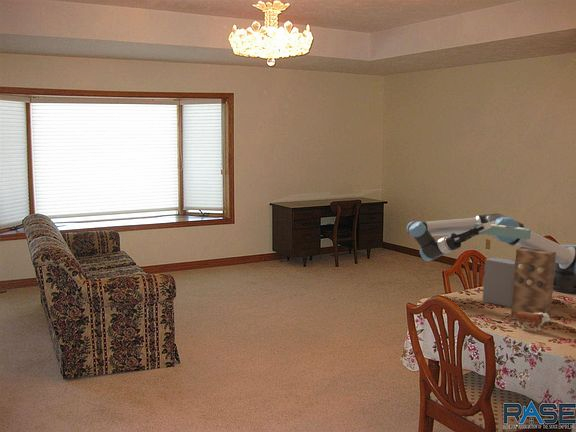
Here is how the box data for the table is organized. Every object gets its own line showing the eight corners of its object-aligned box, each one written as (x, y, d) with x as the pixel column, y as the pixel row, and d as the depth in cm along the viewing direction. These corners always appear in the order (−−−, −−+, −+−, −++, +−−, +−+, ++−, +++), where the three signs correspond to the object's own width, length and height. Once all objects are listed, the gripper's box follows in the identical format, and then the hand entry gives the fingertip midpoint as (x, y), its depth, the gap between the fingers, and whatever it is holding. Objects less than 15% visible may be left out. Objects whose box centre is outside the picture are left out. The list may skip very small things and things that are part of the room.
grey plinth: (516, 303, 288) (519, 261, 285) (509, 306, 282) (512, 264, 279) (489, 297, 297) (492, 257, 294) (482, 301, 291) (485, 259, 288)
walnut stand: (549, 321, 263) (556, 252, 258) (542, 325, 257) (549, 254, 252) (517, 313, 272) (522, 247, 268) (510, 317, 266) (515, 249, 262)
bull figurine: (548, 334, 245) (550, 315, 244) (513, 328, 252) (515, 309, 251) (550, 331, 249) (552, 312, 248) (516, 325, 256) (517, 306, 255)
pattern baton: (530, 238, 267) (531, 228, 267) (526, 239, 264) (527, 229, 264) (477, 231, 283) (478, 222, 283) (473, 232, 280) (474, 223, 280)
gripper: (461, 248, 297) (504, 229, 281) (444, 253, 284) (488, 233, 269) (455, 233, 298) (497, 214, 283) (437, 238, 285) (480, 218, 270)
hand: (492, 223), depth 276 cm, fingers closed on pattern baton, 4 cm apart
